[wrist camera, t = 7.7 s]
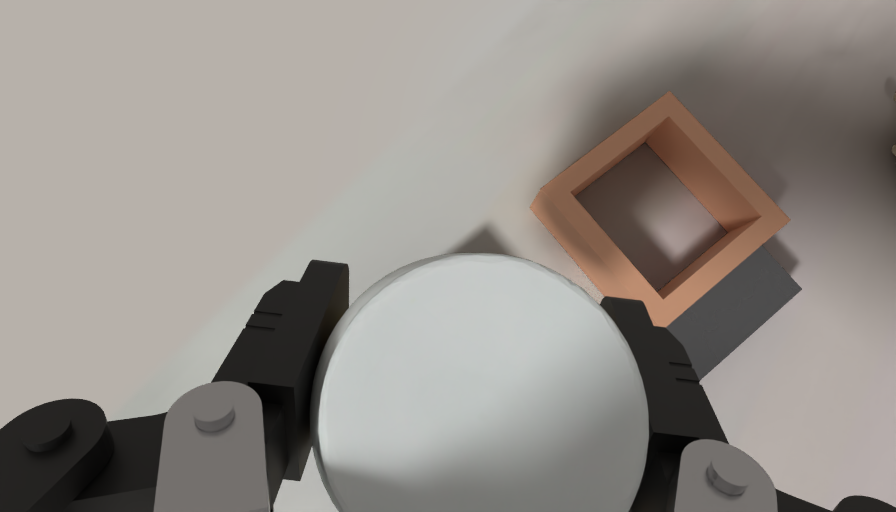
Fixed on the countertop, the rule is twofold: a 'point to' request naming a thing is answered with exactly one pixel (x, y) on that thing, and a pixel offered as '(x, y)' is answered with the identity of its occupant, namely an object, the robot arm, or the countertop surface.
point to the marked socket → (699, 170)
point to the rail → (733, 310)
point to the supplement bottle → (478, 394)
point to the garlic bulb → (895, 148)
